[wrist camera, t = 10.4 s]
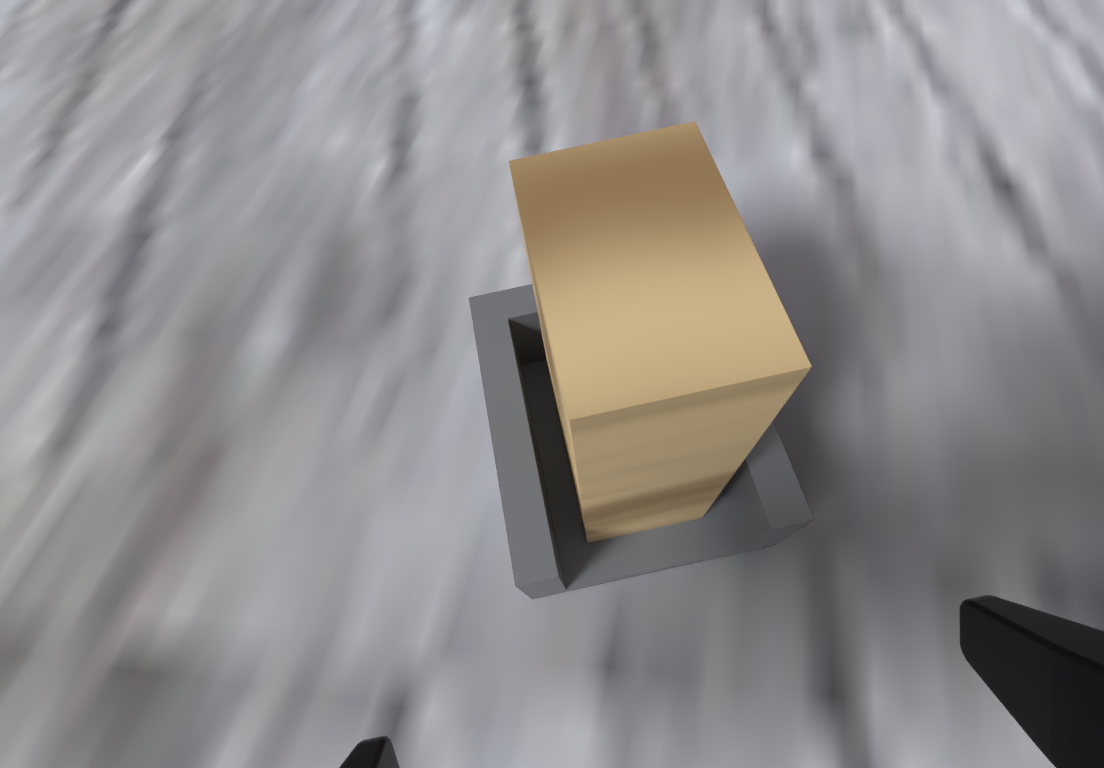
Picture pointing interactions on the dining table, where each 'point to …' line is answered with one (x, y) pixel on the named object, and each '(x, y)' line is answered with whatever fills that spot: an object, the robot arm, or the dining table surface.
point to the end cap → (548, 489)
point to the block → (651, 324)
